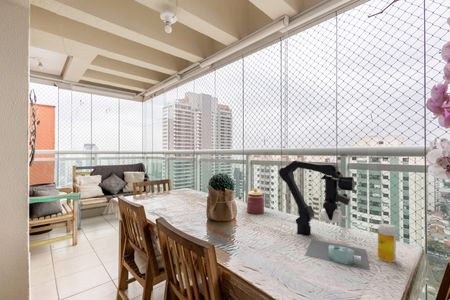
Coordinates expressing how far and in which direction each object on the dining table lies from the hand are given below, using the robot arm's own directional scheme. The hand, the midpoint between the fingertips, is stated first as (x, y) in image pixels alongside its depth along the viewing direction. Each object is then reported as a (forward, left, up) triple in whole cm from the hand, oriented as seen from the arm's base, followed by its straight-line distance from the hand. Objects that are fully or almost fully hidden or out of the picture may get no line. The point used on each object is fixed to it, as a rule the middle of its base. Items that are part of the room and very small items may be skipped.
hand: (331, 218), depth 113 cm
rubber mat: (+3, -14, -12) cm, 18 cm away
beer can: (+22, -10, -12) cm, 27 cm away
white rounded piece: (+1, 0, -1) cm, 1 cm away
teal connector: (+6, -21, -11) cm, 24 cm away
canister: (-53, +30, -12) cm, 62 cm away
